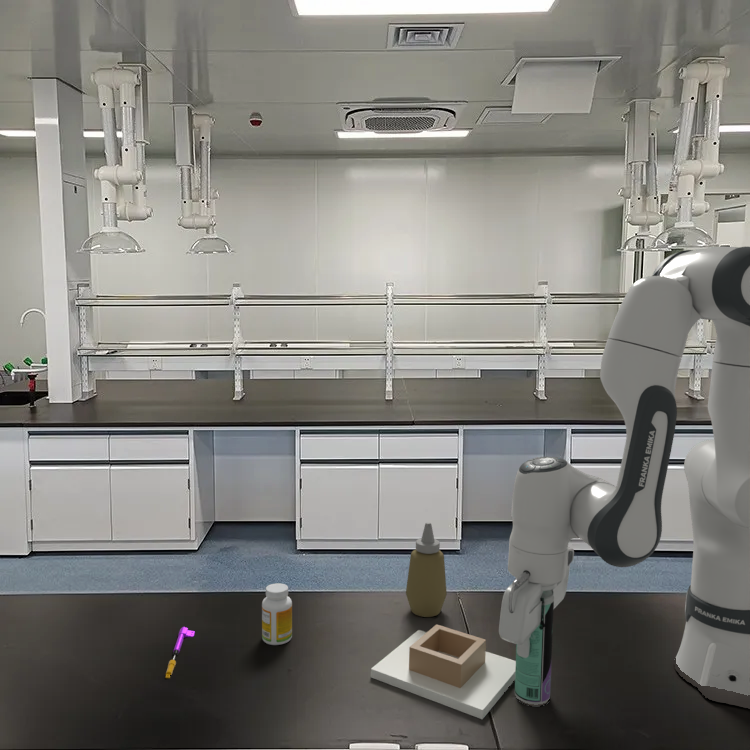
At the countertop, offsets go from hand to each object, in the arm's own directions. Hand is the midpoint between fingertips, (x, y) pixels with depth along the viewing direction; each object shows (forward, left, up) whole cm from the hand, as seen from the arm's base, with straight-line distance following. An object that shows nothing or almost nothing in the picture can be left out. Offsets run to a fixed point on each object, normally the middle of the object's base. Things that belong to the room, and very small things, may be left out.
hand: (531, 645), depth 112 cm
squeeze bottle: (+28, -16, -9) cm, 33 cm away
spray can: (0, 0, -9) cm, 9 cm away
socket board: (+14, +2, -9) cm, 16 cm away
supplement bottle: (+45, +9, -9) cm, 46 cm away
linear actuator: (+55, +22, -9) cm, 60 cm away
